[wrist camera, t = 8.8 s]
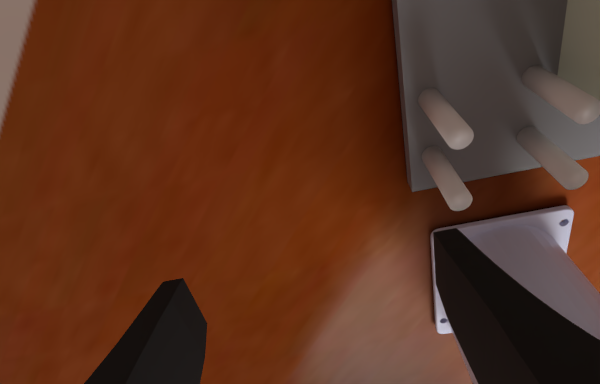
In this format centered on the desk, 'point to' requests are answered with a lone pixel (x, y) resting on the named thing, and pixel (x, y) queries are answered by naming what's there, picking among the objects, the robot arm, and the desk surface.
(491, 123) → the dish rack
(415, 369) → the desk surface
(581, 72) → the pale rectangular block
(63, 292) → the desk surface
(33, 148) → the desk surface
